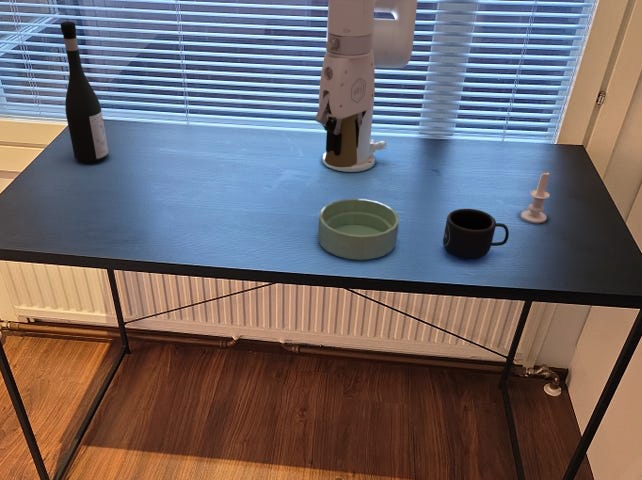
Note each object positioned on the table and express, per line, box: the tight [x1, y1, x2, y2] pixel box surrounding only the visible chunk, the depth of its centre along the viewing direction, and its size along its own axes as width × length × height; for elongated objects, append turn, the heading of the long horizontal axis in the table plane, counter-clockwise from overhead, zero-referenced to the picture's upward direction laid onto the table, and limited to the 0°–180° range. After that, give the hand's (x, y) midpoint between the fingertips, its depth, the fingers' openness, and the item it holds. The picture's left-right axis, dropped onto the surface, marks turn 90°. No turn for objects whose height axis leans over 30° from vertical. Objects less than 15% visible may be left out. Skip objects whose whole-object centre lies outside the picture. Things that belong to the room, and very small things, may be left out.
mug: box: [442, 208, 510, 261], centre depth 126 cm, size 12×9×7 cm
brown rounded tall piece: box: [325, 113, 359, 167], centre depth 120 cm, size 6×6×11 cm
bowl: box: [317, 198, 400, 261], centre depth 129 cm, size 15×15×6 cm
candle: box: [520, 171, 550, 225], centre depth 136 cm, size 5×5×10 cm
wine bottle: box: [60, 21, 109, 165], centre depth 150 cm, size 8×8×30 cm
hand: (341, 148), depth 122 cm, fingers closed on brown rounded tall piece, 4 cm apart
